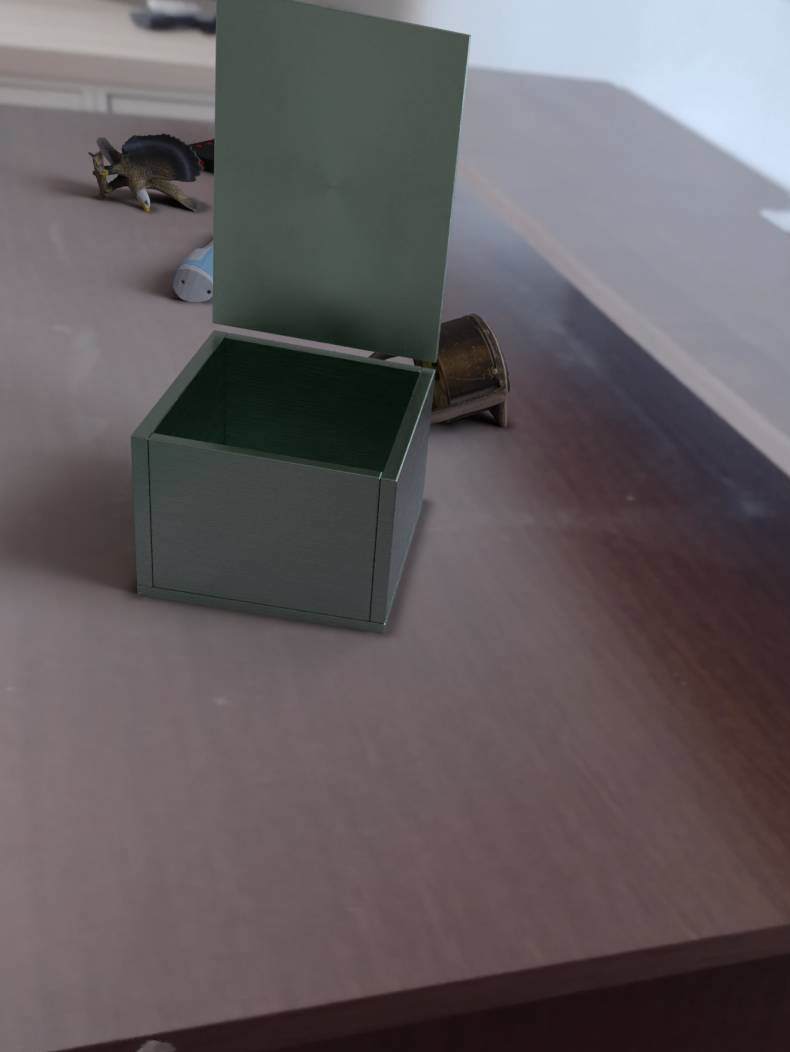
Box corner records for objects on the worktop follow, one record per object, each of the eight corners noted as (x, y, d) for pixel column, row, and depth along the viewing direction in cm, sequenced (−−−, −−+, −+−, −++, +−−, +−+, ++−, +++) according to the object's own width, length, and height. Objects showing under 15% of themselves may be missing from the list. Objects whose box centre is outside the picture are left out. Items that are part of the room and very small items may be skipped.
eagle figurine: (105, 207, 113) (210, 194, 116) (81, 119, 112) (188, 108, 115) (106, 234, 121) (206, 221, 123) (84, 151, 119) (185, 140, 122)
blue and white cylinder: (213, 309, 102) (213, 271, 100) (170, 302, 101) (170, 264, 100) (253, 240, 117) (254, 206, 115) (216, 234, 117) (216, 199, 115)
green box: (383, 638, 69) (397, 480, 63) (137, 599, 68) (130, 435, 62) (421, 509, 81) (435, 368, 76) (214, 474, 80) (213, 329, 75)
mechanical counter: (533, 384, 86) (523, 301, 92) (334, 343, 82) (338, 259, 89) (506, 472, 91) (498, 388, 98) (318, 438, 88) (323, 352, 94)
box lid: (469, 35, 66) (479, 29, 71) (216, -15, 65) (242, -19, 70) (435, 363, 75) (446, 337, 80) (211, 323, 74) (235, 300, 79)
